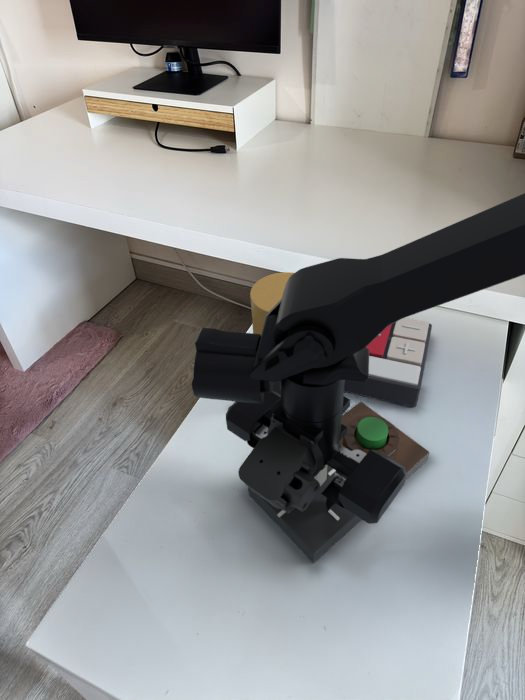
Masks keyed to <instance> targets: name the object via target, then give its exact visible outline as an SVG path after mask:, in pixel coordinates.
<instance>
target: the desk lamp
mask: <svg viewBox="0 0 525 700" xmlns="http://www.w3.org/2000/svg"><path fill="white" fill-rule="evenodd" d="M294 273H295V272H291V271H289V272H288V271H287V272H285V271H283V272H276V273H272V274H268V275H266V276H263V277H262V278H260V279H258V280H257V281H256V282H255V283H254V284H253V285H252V287H251V289H250V293H249V299H250V309H251V311H250V312H251V323H252V324H251V325H252V333H253V334H260V336H261V333H262V329H263V325H264V322H265V318H266V315H267V313H268V312H269V311H270V310H271V309H272V308H273V307H274V306H275V305H276V304H277V303H278V302H279V301H280V300H281V299H282V296H283V292H284V289H285V285H286V283H287V280H288V279H289V277H290V276H291V275H292V274H294ZM273 391H275V392H276V393H278V394H280V395H281V392H280V381H274V386H273Z"/></svg>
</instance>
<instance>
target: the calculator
mask: <svg viewBox="0 0 525 700" xmlns="http://www.w3.org/2000/svg"><path fill="white" fill-rule="evenodd" d="M432 329H433V324H432V323H430V322H429V321H426V320H422V319H421V320H420V319H415V318H411V317H410V318H409V317H405V318H403V319H400V320H399V321H397V322H395V323H393V324H391V325H389V326H388V327H386V328H385V329H384V330H383V331H382V332H381V333H380V334H379V335H378V336H377V337H376V338H375V339H374V340H373V341H372V342H371V343H370V344H369V345H368V346H367V347H366V348H368V349H369V378H368V380H367V381H364V382H362V381H352V380H345V388H344V392H345V393H350V394H356V395H360V396H363V397H368V398H371V399H376V400H381V401H385V402H391V403H394V404H399V405H403V406H407V407H412V408H415V407H417V405H418V401H419V397H420V392H421V388H422V384H423V378H424V373H425V368H426V367H425V366H426V361H427V355H428V351H429V344H430V339H431V333H432Z"/></svg>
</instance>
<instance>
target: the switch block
mask: <svg viewBox="0 0 525 700" xmlns="http://www.w3.org/2000/svg"><path fill="white" fill-rule="evenodd" d="M367 417H376V418H379V419H381V420H382V421H384V422H385V423H386V425H387V427H388V436H387V441H386V443H385V445H384V446H383V447H381V448H379V449H375V450H376V451H378V452H380V453H381V454H383V455H385V456H387V457H388V458H390V459H392V460H393V461H395V462H397V463H399V464H400V465H402V466H404V467H405V470H406V474H407V476H406V480H407V479H409V477H411V476H412V475H413V474H414V473H415V472H416V471H418V469H420V468H421V467H422V466H423V465H425V463H426V462H427V461H428V460H429V456H430V453H431V452H430V451H429V450H428V449H426V448H425V447H423V446H422V445H421V444H420V443H418V442H417V441H416V440H414V439H413V438H411V437H410V436H409V435H407V434H406V433H405V432H403V431H402V430H400V429H399V428H398V427H397V426H396V425H394V424H393V423H391V422H390V421H389V420H387V419H386V418H385V417H383V416H381V415H380V414H378V413H377V412H376V411H375V410H373V409H372V408H371V407H370V406H368V405H366V403H364V402H363V401H360V402H358V403H357V404H356V405H354V406H353V407H352V408H350V409H349V410H347V411H346V412H344V413H343V414H342V420H341V424H343V425H345V426H346V427H347V434H346V435H345V436H344V437H343V438H342V439H341V440H340V442H339V444H340V445H342V446H343V447H345V448H347V449H348V450H350V451H353V450H357V449H358V450H361V451H363V452H365V453H366V454H367V453H368V452H369V450H371V449H367V448H364V447H363V446H361V445H360V444H359V442H358V441H357V437H356V435H357V427H358V424H359V422H360V421H361V420H362V419H364V418H367Z"/></svg>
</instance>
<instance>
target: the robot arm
mask: <svg viewBox="0 0 525 700" xmlns="http://www.w3.org/2000/svg"><path fill="white" fill-rule="evenodd" d="M293 273H294V274H292V275H291V276H290V277H289V279H288V280H287V283H286V285H285V289H284V292H283V296H282V299H281V300H280V301H279V302H278V303H277V304H276V305H275V306H274V307H273V308H272V309H271V310H270V311H269V312H268V313H267V315H266V318H265V322H264V325H263V329H262V333H261V336H260V334H253V332H252V333H251V332H240V331H227V330H222V329H218V328H212V327H201V328H200V329H199V332H198V335H197V337H196V339H195V341H194V345H195V351H196V352H195V356H194V357H195V358H194V363H193V364H194V365H193V378H192V381H191V389H192V392H193V395H194V396H195V398H198V399H199V398H200V399H208V400H216V401H217V400H218V401H224V402H225V401H227V402H233V403H232V404H231V405H230V406H229V407H228V409H227V411H226V413H225V422H226V423H225V424H226V429H227V430H228V431H229V432H230V433H232V434H233V435H235V436H237V437H238V438H239V439H241V440H242V441H244V442H246V443H247V445H248V446H249V447H251V448H252V450H251V451H250V453H249V454H248V455H247V457H246V458H245V459H244V461H243V462H242V463H241V465H240V467H239V468H238V471H237V472H238V477H239V479H240V481H241V482H242V483H243V484H244V485H245V486H246V487H247V488H248V487H249V488H250V489H251V490H252V491H253V492H255V493H256V494H258V495H259V496H260V497H262V498H263V499H265V500H266V501H267V502H269V503H270V504H271V505H273V506H274V507H276V508H278V509H283V510H284V511H286V512H287V513H290V512H291V511H292V509H293V508H297V509H299V510H300V511H304V510H306V509H307V507H308V506H309V504H310V503H311V501H312V500H313V498H314V497H315V495H316V494H317V492H318V491H319V488H320V483H319V482H318V481H317V480H316V479H314V477H315V476H317V474H318V473H319V472H320V471H321V470H323V469H324V468H325V467H326V465H328V466H330V467H331V468H333V469H334V470H336V472H335V478H334V479H333V480H332V481H331V483H330V484H329V485H328V486H327V487H326V489H325V490H324V491H323V492H322V495H324V496H325V497H327V499H326V506H327V508H328V509H329V510H330V509H331V508H332V507H333V506H334V504H337V505H338V506H340V507H342V508H345V509H347V510H349V511H350V512H352V513H353V514H355V515H356V516H358V517H359V518H361V519H362V520H361V521H363V522H365V523H367V524H368V525H370V524H371V525H372V524H377V523H378V522H380V520H381V518H382V517H383V516H384V514H385V513H386V511H387V510H388V509H389V507H390V506H391V504H392V503H393V501H394V500H395V498H396V497H397V496H398V495H399V493H400V492H401V490H402V489H403V487H404V486H405V484H406V480H407V479H406V476H407V474H406V470H405V467H404V466H402V465H400V464H399V463H397V462H395V461H393V460H392V459H390V458H388V457H387V456H385V455H383V454H381V453H380V452H378V451H376V450H375V449H372V450H369V452H368V453H367V454H366V453H365V452H363V451H361V450H358V449H357V450H353V451H350V450H348V449H347V448H345V447H343V446H342V445H340V444H339V442H340V440H341V439H342V438H343V437H344V436H345V435H346V434H347V427H346V426H345V425H343V424H341V420H342V416H343V415H344V414H345V413H346V412H347V411H348V409H350V406H351V399H350V398H348V397H346V396H345V391H344V388H345V380H352V381H362V382H364V381H367V380H368V378H369V349H368V348H366V347H367V346H368V345H369V344H370V343H371V342H372V341H373V340H374V339H375V338H376V337H377V336H378V335H379V334H380V333H381V332H382V331H383V330H384V329H385V328H386V327H388V326H389V325H391V324H393V323H395V322H397V321H399V320H400V319H403V318H409V317H411V316H413V315H417V314H419V313H422V312H424V311H427V310H430V309H433V308H435V307H438V306H441V305H444V304H448V303H450V302H452V301H453V302H454V301H455V300H459V299H461V298H464V297H467V296H470V295H472V294H475V293H478V292H480V291H483V290H486V289H489V288H492V287H495V286H498V285H501V284H503V283H506V282H509V281H512V280H514V279H517V278H519V277H522V276H525V192H524V193H522V194H519V195H518V196H515V197H512V198H511V199H510V198H509V199H508V200H506V201H504V202H501V203H498V204H497V205H494V206H492V207H490V208H489V207H488V208H487V209H485V210H483V211H480V212H478V213H476V214H474V215H471V216H469V217H467V218H464V219H462V220H461V219H460V220H459V221H457V222H454V223H452V224H450V225H448V226H446V227H445V226H444V227H443V228H440V229H439V230H436V231H433V232H432V233H429V234H427V235H425V236H422V237H420V238H418V239H416V240H412V241H411V242H408V243H406V244H403V245H401V246H399V247H397V248H395V249H392V250H390V251H387V252H385V253H383V254H380V255H375V256H372V257H369V258H351V257H350V258H349V257H348V258H347V257H338V258H334V259H330V260H327V261H324V262H320V263H316V264H312V265H309V266H306V267H302V268H300V269H298V270H297V271H295V272H293ZM274 381H280V392H281V395H280V394H278V393H276V392H275V391H273V386H274Z"/></svg>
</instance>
